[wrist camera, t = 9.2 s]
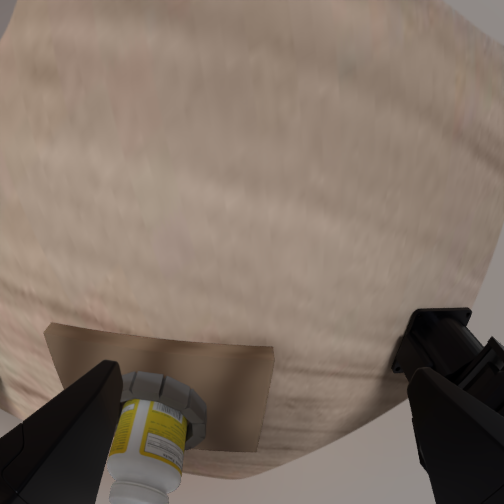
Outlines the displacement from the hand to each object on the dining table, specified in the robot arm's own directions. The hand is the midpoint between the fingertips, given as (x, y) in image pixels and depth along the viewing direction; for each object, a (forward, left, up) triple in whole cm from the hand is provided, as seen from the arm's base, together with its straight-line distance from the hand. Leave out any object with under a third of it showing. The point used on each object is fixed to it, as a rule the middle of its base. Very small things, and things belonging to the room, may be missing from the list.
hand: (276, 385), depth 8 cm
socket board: (+7, +15, -12) cm, 20 cm away
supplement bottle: (+7, +15, -11) cm, 20 cm away
